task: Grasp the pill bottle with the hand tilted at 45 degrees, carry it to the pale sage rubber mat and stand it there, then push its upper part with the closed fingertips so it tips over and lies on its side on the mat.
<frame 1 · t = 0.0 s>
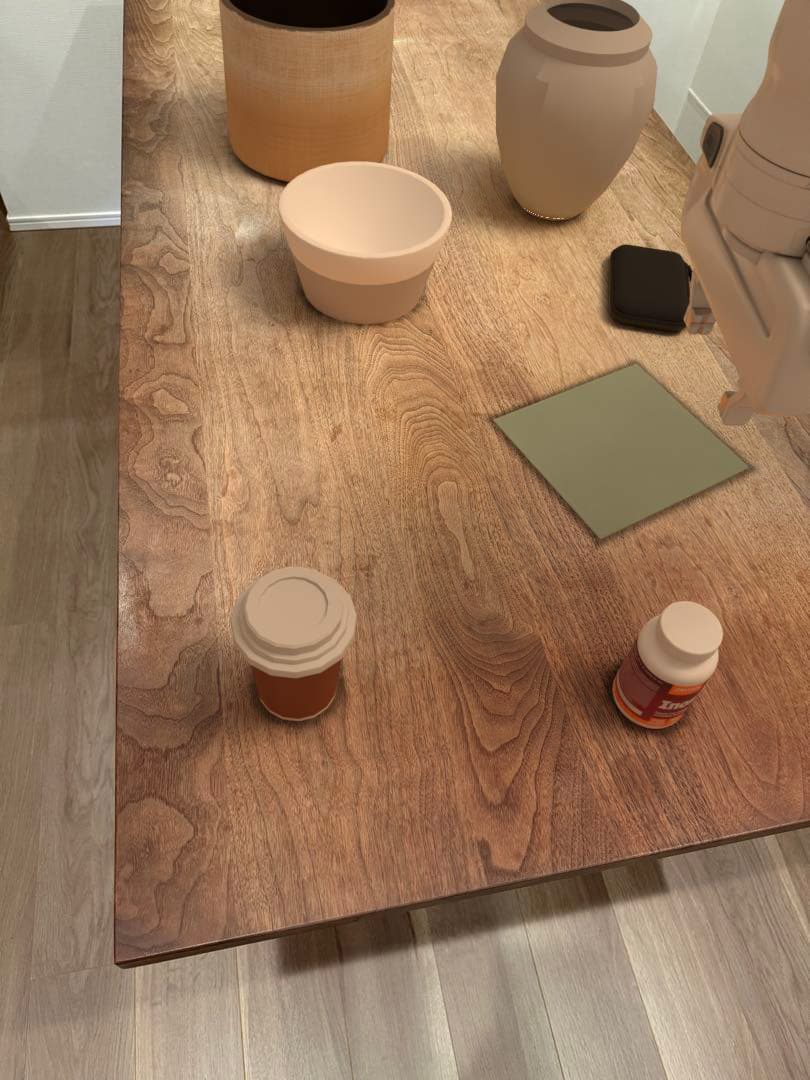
hand: (712, 371, 62), 24 cm above the table, tool pointing down, fingers open, 8 cm apart
vase: (548, 207, 119), on the table
carrying case: (649, 299, 108), on the table
coffee cup: (297, 687, 72), on the table
pill bottle: (646, 698, 73), on the table
mat: (619, 445, 91), on the table
planter: (309, 151, 124), on the table
bowl: (362, 289, 105), on the table
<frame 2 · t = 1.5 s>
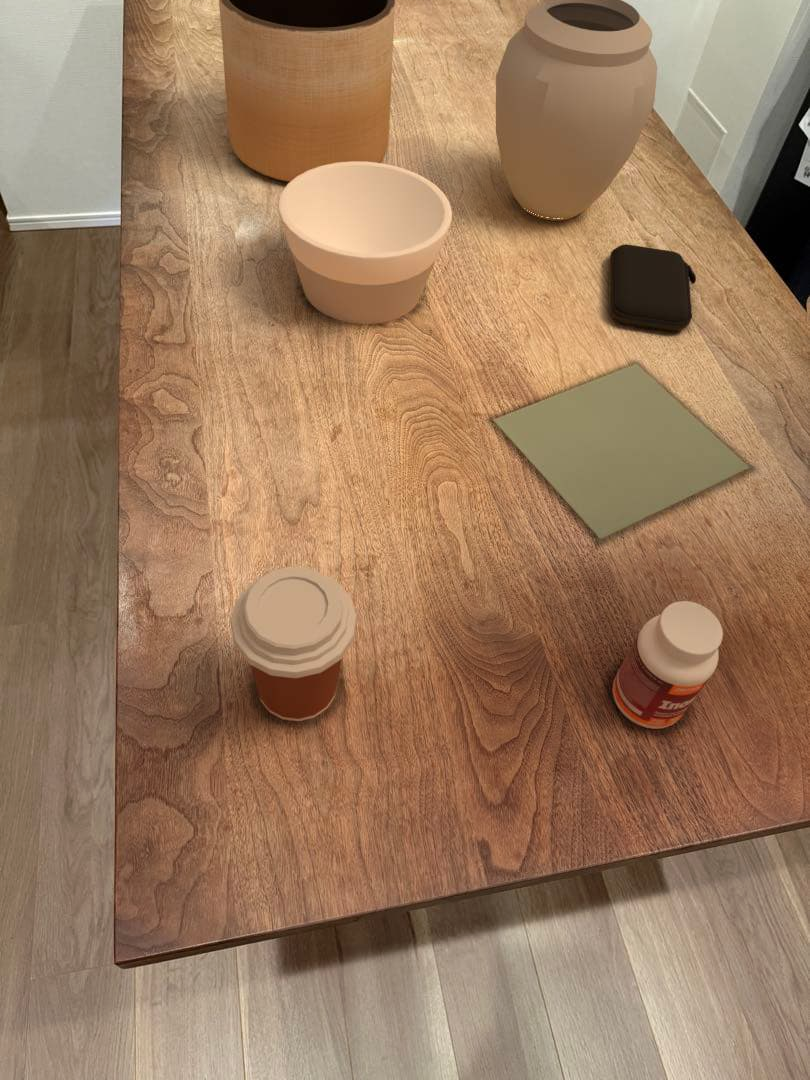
nothing on the table moved.
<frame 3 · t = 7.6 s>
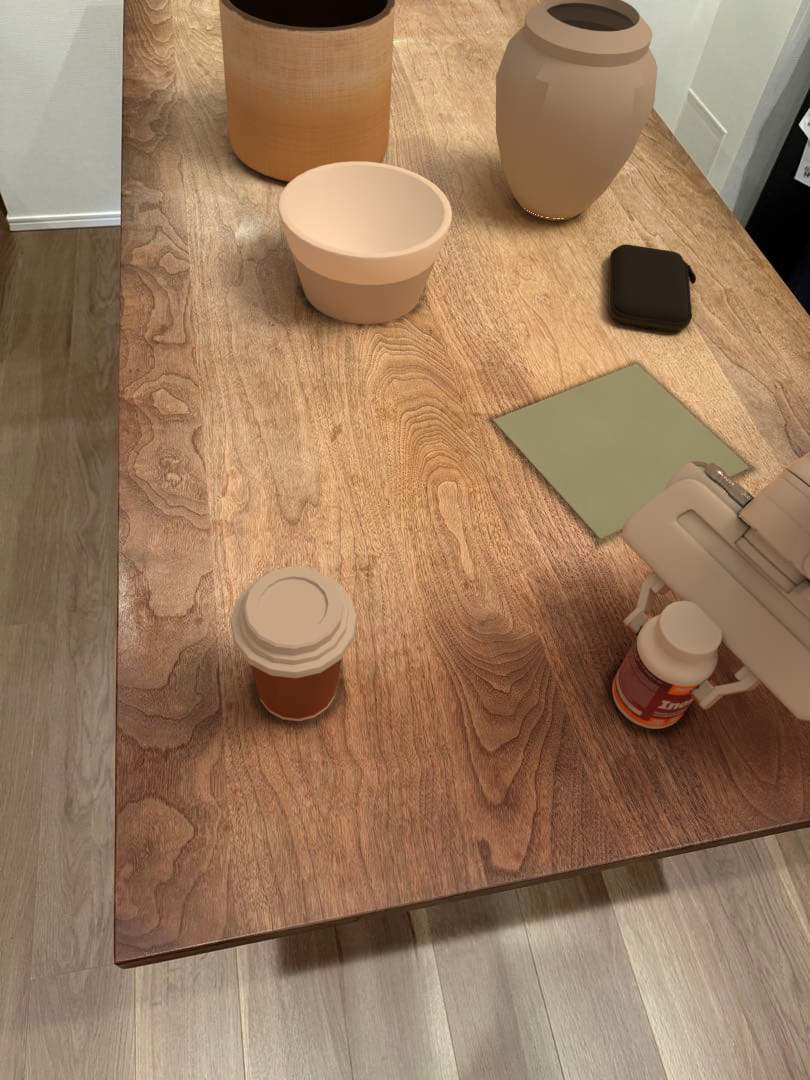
hand: (664, 665, 68), 6 cm above the table, tool tilted 45°, fingers closed on pill bottle, 6 cm apart
pill bottle: (646, 698, 73), on the table, touching gripper
everything else where it was.
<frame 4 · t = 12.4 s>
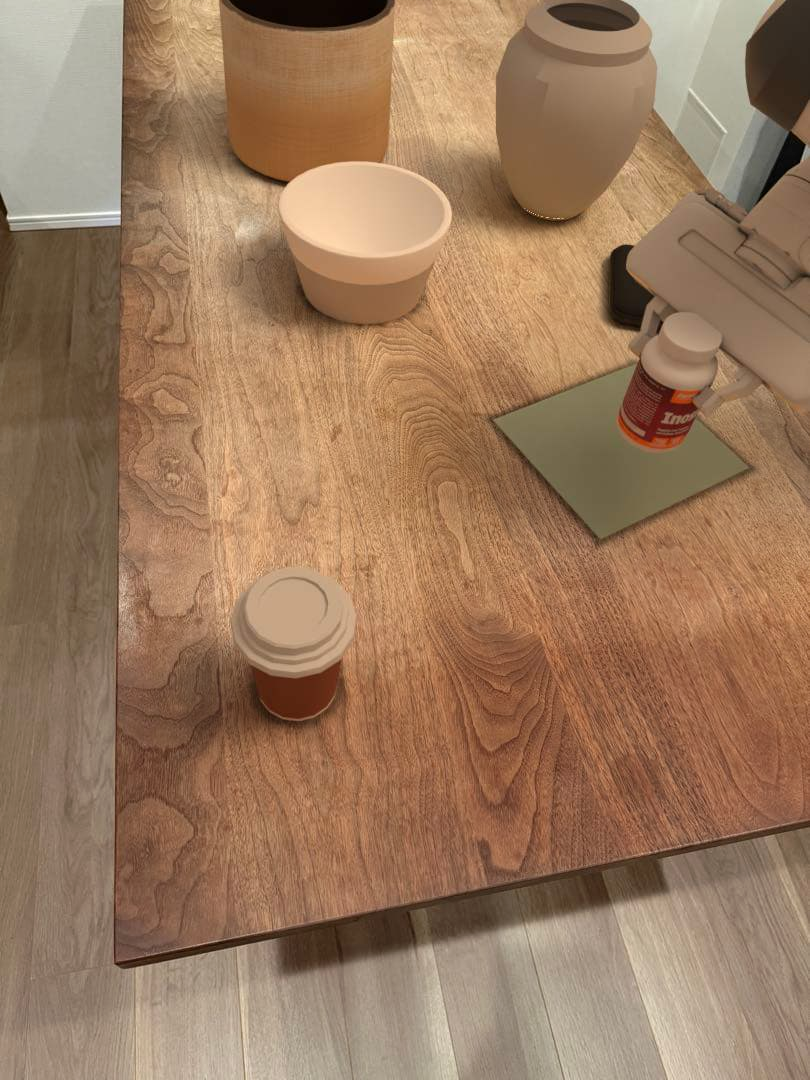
hand: (666, 382, 72), 17 cm above the table, tool tilted 45°, fingers closed on pill bottle, 6 cm apart
pill bottle: (649, 431, 77), point 11 cm above the table, touching gripper
everything else where it was.
when the fingers open (6 cm above the table, at t = 17.5 s): pill bottle stays where it is, resting on mat.
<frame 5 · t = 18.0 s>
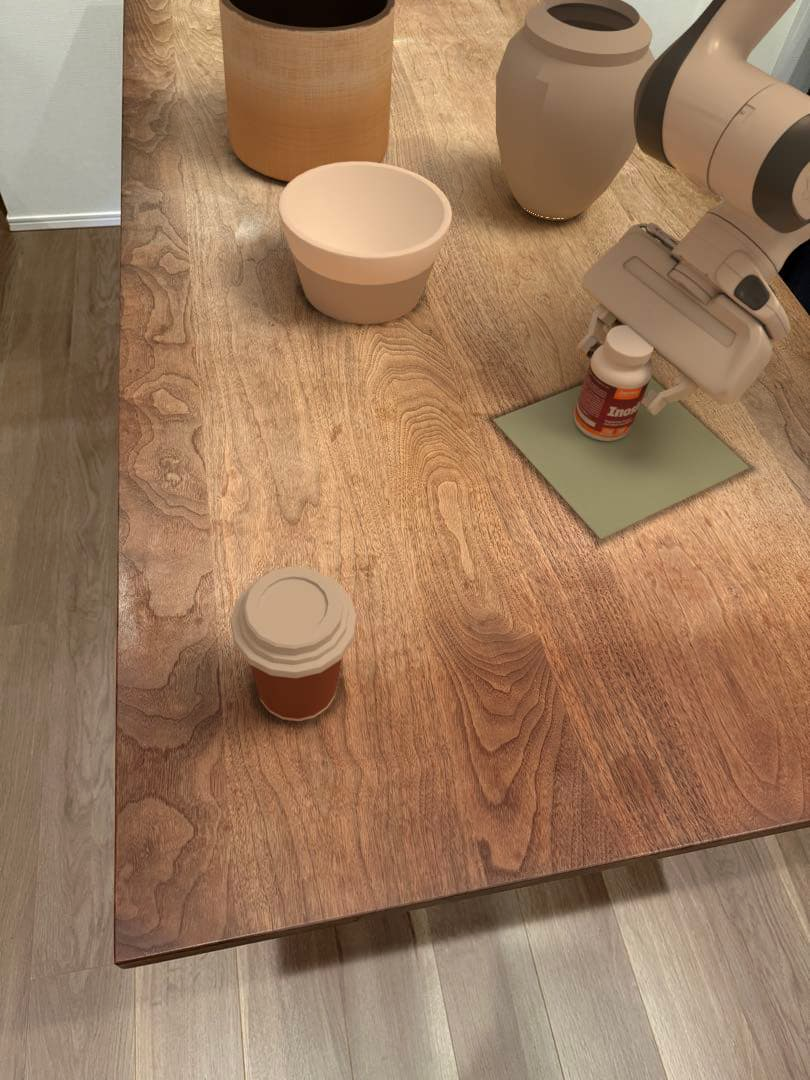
hand: (614, 380, 87), 7 cm above the table, tool tilted 45°, fingers open, 8 cm apart
pill bottle: (601, 423, 93), resting on mat
everything else where it was.
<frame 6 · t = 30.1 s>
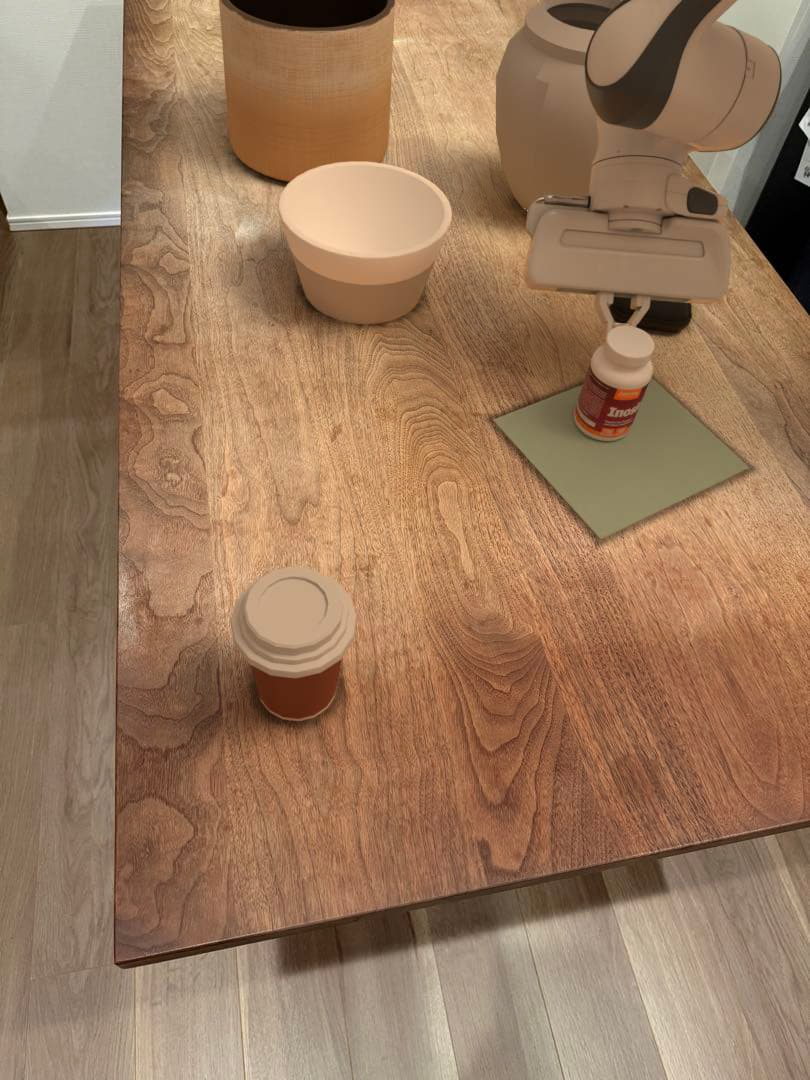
hand: (617, 342, 89), 8 cm above the table, tool tilted 45°, fingers closed, pressing on pill bottle
pill bottle: (601, 423, 93), resting on mat, touching gripper
everything else where it was.
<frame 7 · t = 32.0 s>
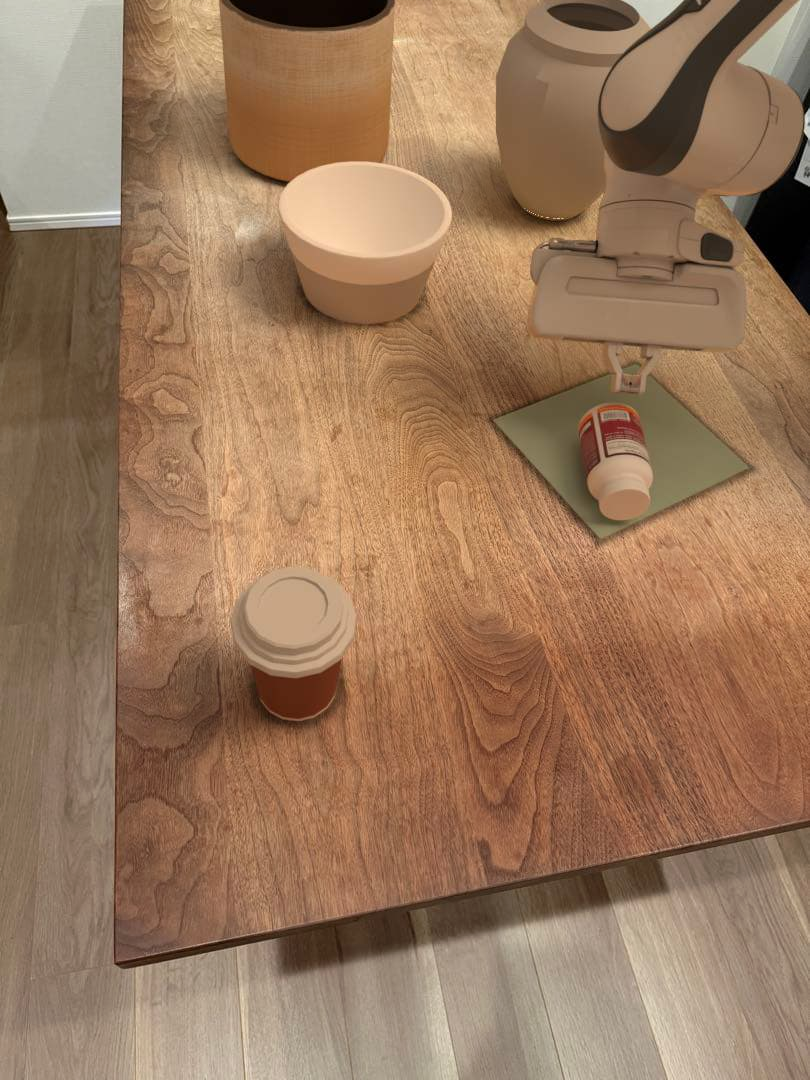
hand: (627, 393, 84), 8 cm above the table, tool tilted 45°, fingers closed
pill bottle: (608, 420, 89), point 4 cm above the table, touching mat
everything else where it was.
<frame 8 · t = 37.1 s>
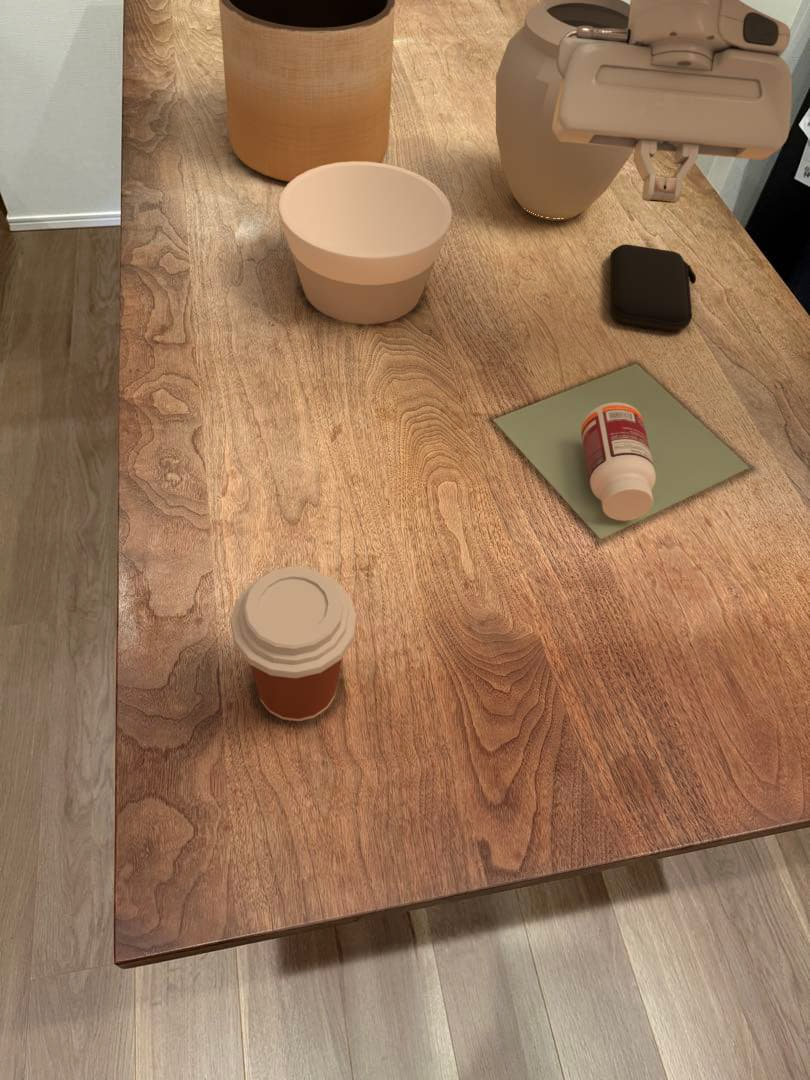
hand: (660, 200, 78), 23 cm above the table, tool tilted 45°, fingers closed
nothing on the table moved.
at the end: pill bottle tilted 90°; pill bottle inside the target area on the mat (1.7 cm from its centre), point 3.5 cm above the mat's base; the gripper is holding nothing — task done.
